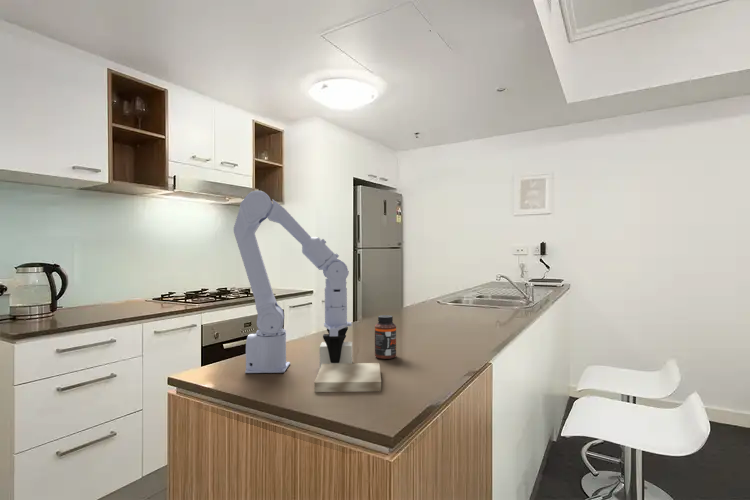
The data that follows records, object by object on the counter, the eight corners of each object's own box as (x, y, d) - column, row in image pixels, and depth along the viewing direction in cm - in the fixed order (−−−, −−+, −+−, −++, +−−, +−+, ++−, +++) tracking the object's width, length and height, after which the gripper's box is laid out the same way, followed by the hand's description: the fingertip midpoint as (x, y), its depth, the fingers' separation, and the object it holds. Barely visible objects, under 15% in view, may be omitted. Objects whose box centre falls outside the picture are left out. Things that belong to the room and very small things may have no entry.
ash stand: (314, 392, 86) (314, 382, 86) (322, 371, 100) (322, 363, 100) (381, 391, 86) (381, 381, 86) (379, 371, 100) (379, 363, 100)
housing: (319, 368, 103) (319, 344, 103) (322, 362, 108) (321, 340, 108) (351, 368, 104) (351, 344, 104) (352, 362, 109) (352, 339, 109)
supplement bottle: (394, 360, 110) (394, 318, 110) (372, 359, 111) (372, 317, 111) (397, 354, 116) (397, 314, 115) (377, 353, 117) (376, 314, 117)
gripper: (350, 310, 99) (350, 366, 99) (352, 302, 113) (352, 351, 113) (320, 310, 99) (321, 366, 99) (326, 302, 113) (327, 351, 113)
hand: (336, 358), depth 106 cm, fingers open, 7 cm apart
